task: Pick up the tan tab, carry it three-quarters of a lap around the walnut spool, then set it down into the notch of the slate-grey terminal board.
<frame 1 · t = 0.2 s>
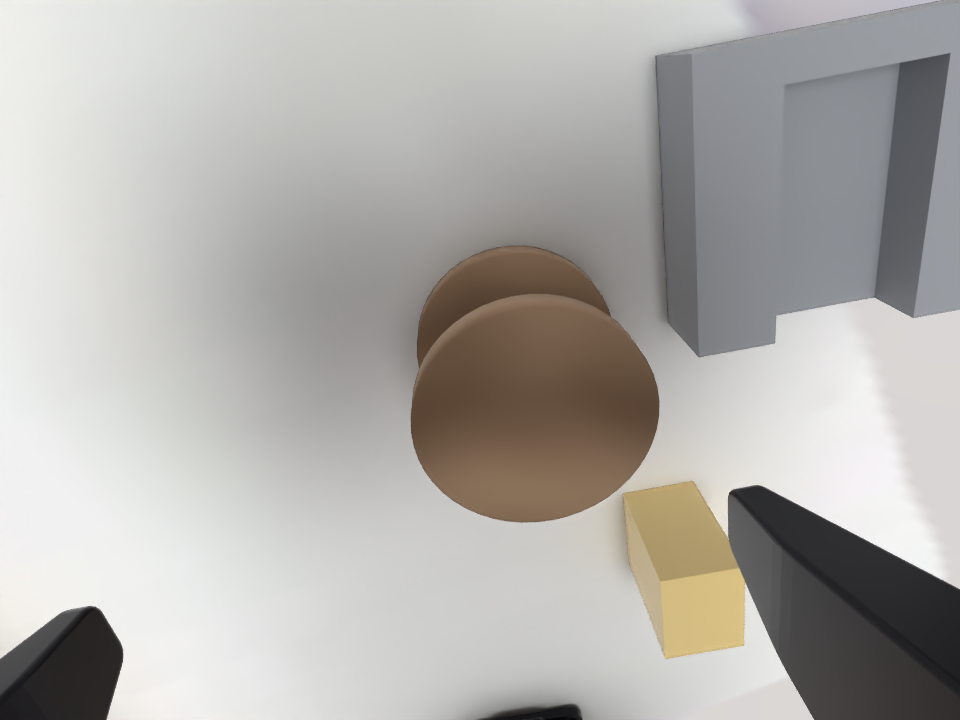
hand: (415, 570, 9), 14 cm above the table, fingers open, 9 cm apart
tan tab: (659, 523, 27), on the table
notch board: (802, 175, 21), on the table
bobbin: (513, 339, 23), on the table
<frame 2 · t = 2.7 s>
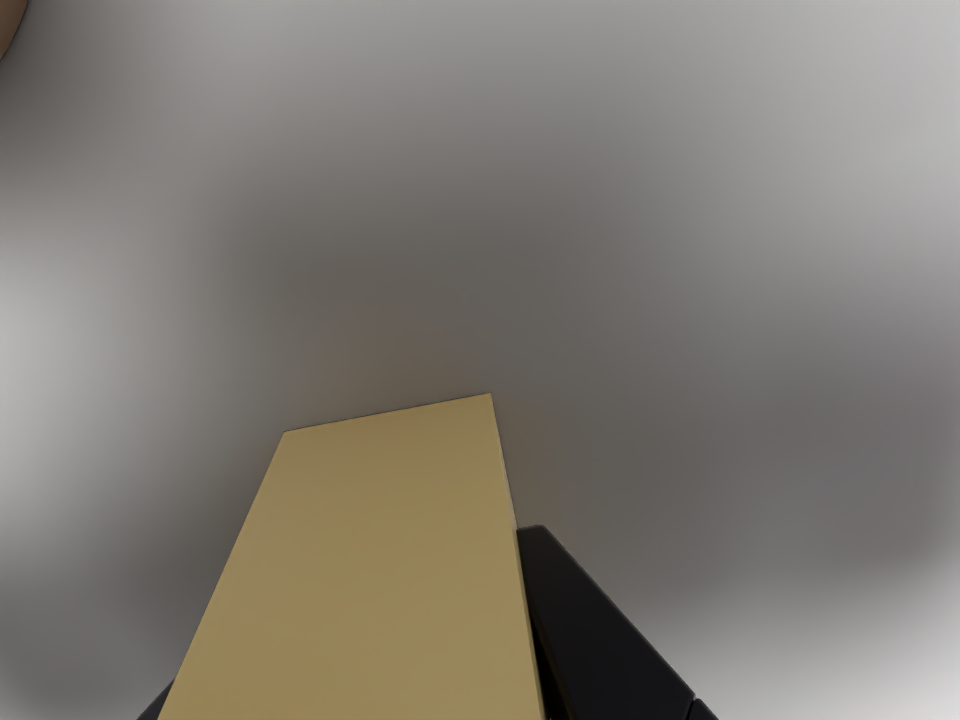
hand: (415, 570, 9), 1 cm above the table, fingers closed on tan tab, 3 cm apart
tan tab: (418, 521, 10), on the table, touching gripper
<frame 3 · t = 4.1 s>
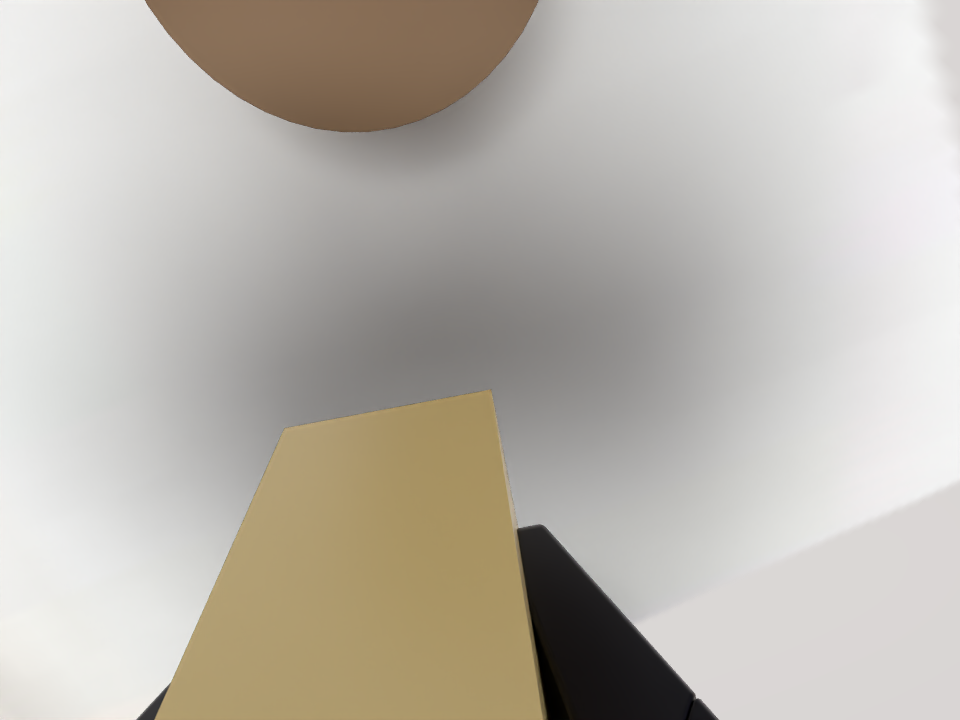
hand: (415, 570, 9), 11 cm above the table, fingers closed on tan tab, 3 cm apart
tan tab: (418, 518, 10), point 10 cm above the table, touching gripper
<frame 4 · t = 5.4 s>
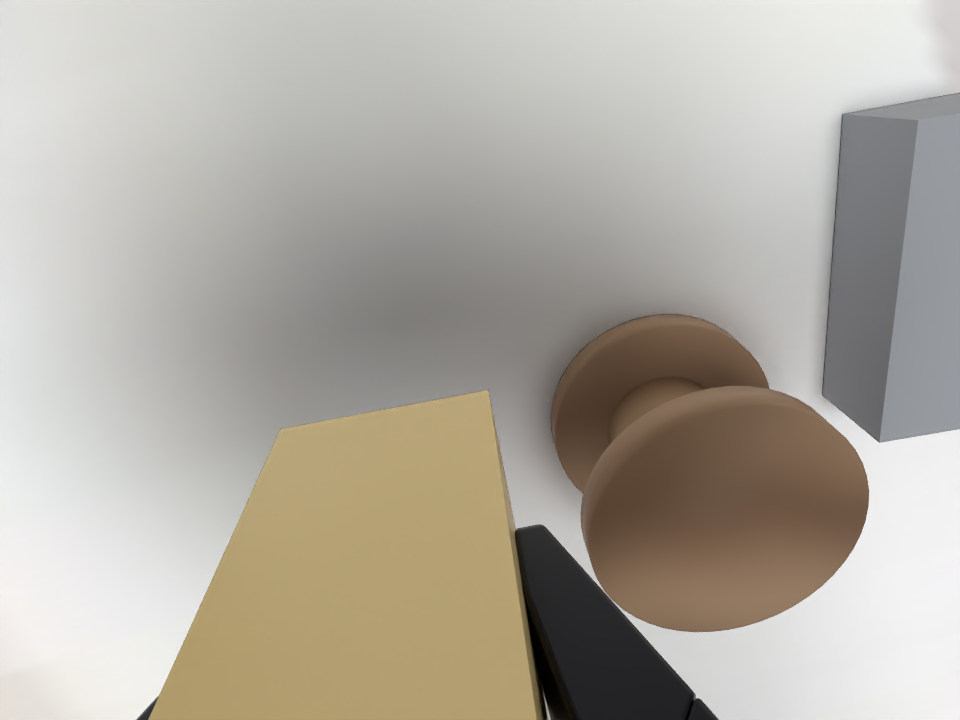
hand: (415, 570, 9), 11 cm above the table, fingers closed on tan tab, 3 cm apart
tan tab: (415, 519, 10), point 10 cm above the table, touching gripper
bobbin: (653, 411, 21), on the table
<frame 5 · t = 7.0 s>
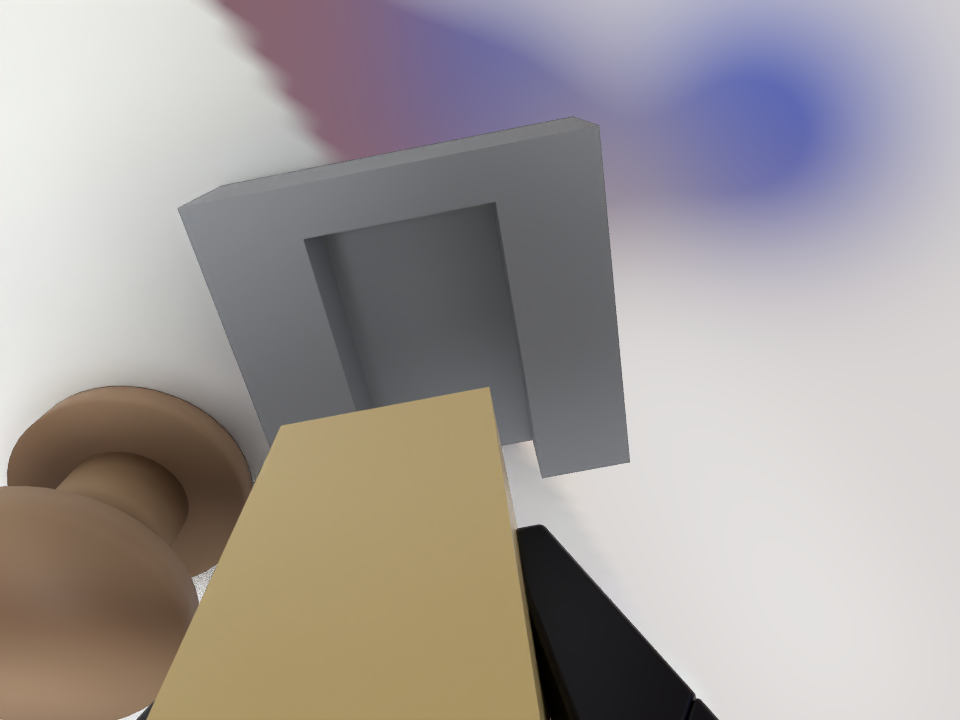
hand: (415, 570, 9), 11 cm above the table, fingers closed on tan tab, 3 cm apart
tan tab: (416, 517, 10), point 10 cm above the table, touching gripper
notch board: (431, 308, 18), on the table
bobbin: (142, 481, 20), on the table
when the fingers open (3 cm above the table, at t = 8.4 s): tan tab drops 1 cm, resting on notch board.
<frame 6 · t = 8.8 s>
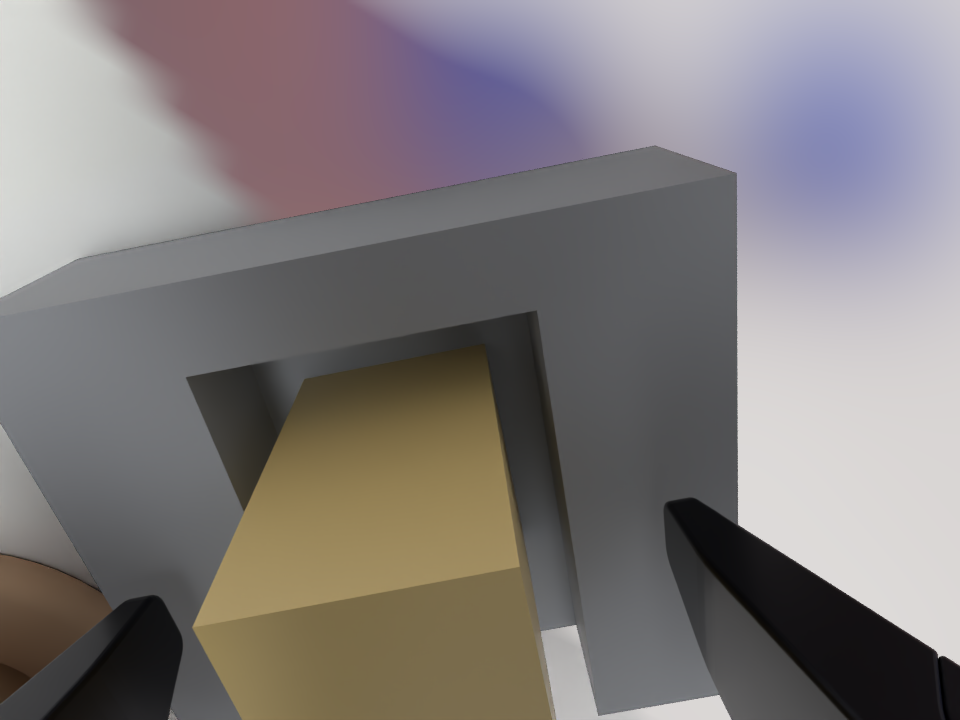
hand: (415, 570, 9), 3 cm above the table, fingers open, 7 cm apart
tan tab: (421, 461, 11), point 1 cm above the table, touching notch board
notch board: (423, 436, 12), on the table
bobbin: (1, 672, 14), on the table
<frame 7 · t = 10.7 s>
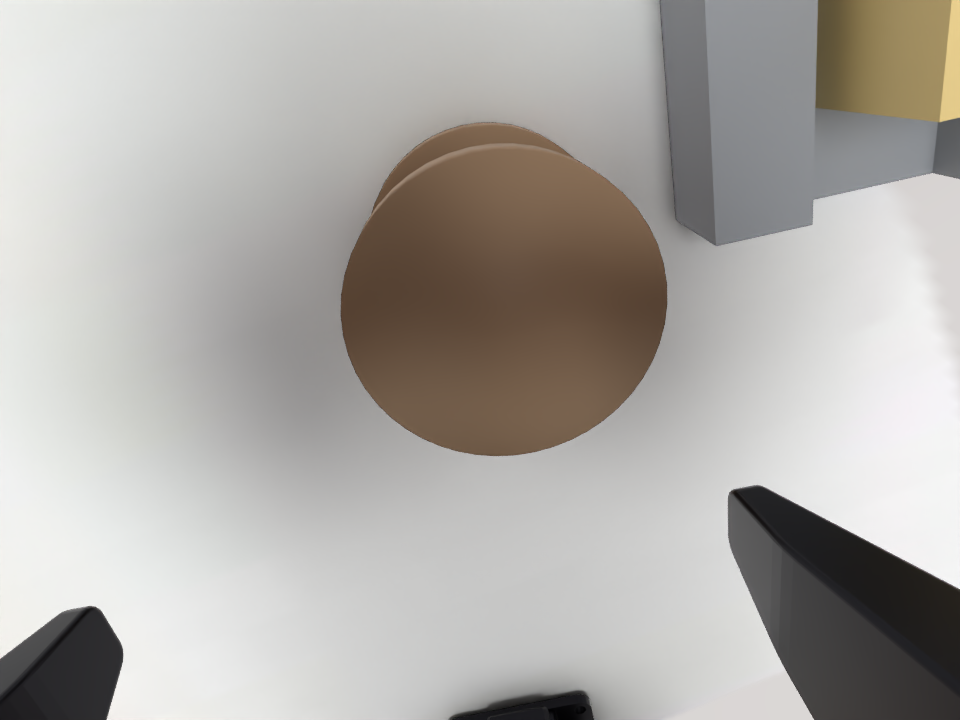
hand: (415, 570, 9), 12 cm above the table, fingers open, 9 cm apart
tan tab: (863, 8, 16), point 1 cm above the table, touching notch board
notch board: (839, 16, 17), on the table
bobbin: (486, 245, 19), on the table
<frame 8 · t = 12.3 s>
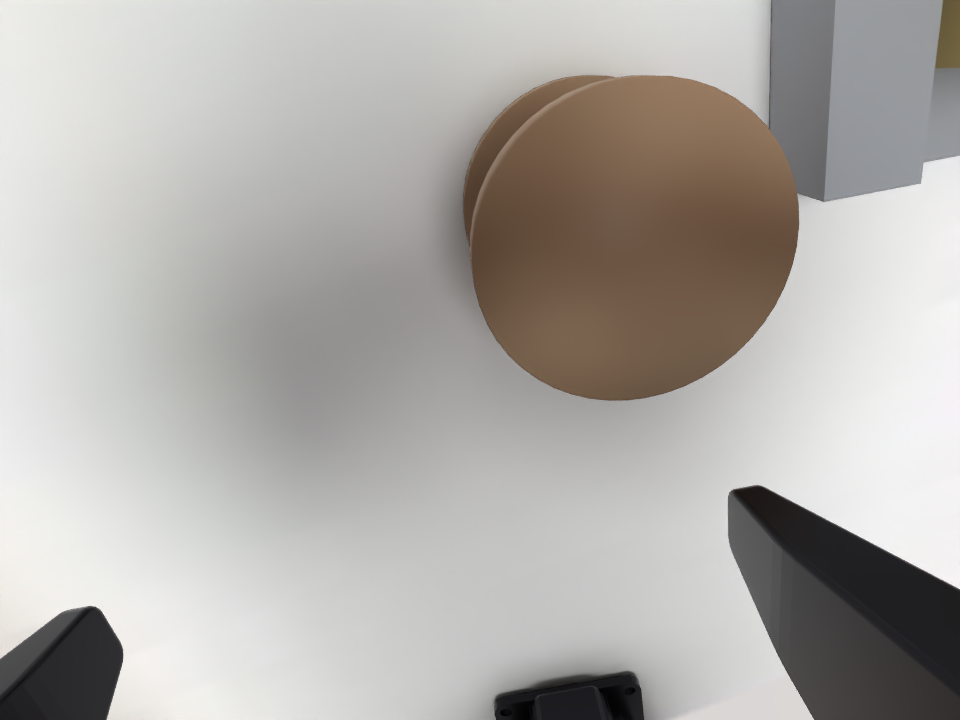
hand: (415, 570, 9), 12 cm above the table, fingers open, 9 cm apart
bobbin: (579, 203, 19), on the table
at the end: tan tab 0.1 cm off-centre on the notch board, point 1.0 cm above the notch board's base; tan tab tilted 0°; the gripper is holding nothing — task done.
